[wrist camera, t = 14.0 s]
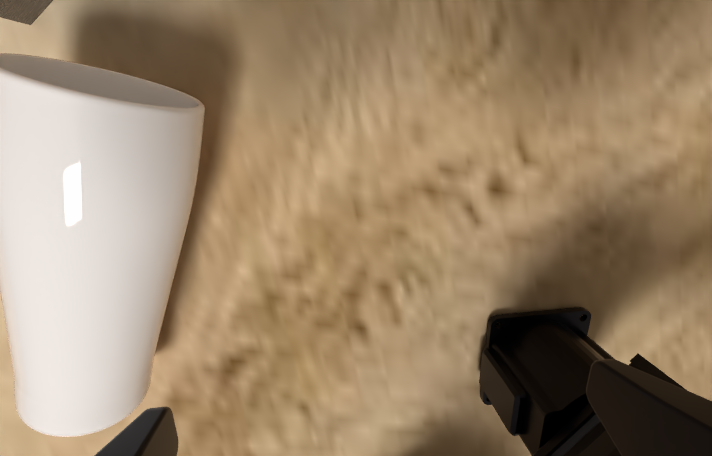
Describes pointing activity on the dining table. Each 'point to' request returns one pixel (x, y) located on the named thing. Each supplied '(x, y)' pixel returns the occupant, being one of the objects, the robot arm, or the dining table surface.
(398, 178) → the dining table surface
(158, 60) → the dining table surface
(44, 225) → the drinking glass
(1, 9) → the grey slotted base block
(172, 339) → the dining table surface
